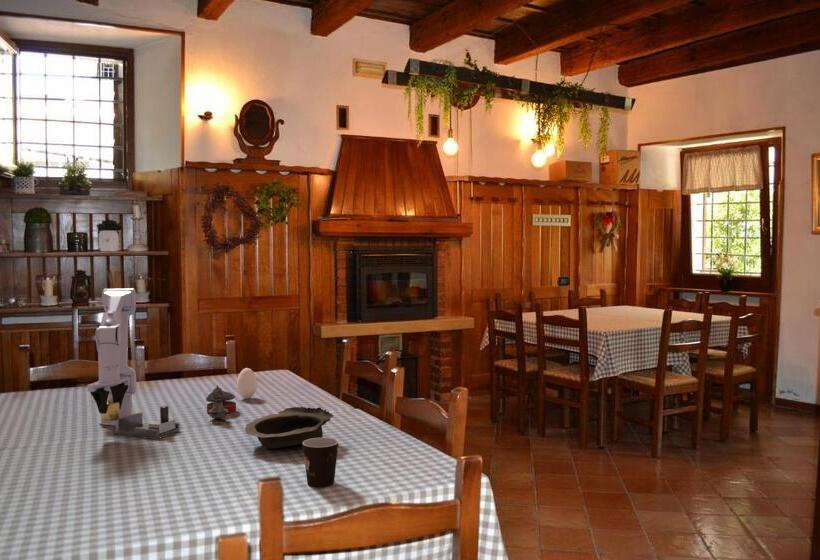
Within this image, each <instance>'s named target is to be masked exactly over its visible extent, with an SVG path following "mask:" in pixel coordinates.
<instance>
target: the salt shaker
mask: <svg viewBox="0 0 820 560" xmlns="http://www.w3.org/2000/svg"><path fill="white" fill-rule="evenodd" d="M222 391H223V389H222V388H221V387H219V385H218V384H217V385H216V387H215V388H214V389H213V391H212V392H213V399H212V400H213V408H212V409H211V410H209V412H210V415H209V416H210V417H211V418H212V419H210V420H209V423H211V422H212V424H221V423H220V422H222V423H225V422H226V421H227V419H226V418H224V417H225V416H226V415H225V414H226V411H227V409H224V408H223V405H222V400H223V398H222Z"/></svg>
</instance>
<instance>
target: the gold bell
mask: <svg viewBox="0 0 820 560" xmlns="http://www.w3.org/2000/svg"><path fill="white" fill-rule="evenodd" d="M119 419H120V417H119V402H118V401H112V399H108V401H107V411H106V413H105V414H102V413H100V422H101V421H115V420H119Z"/></svg>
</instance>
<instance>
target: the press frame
mask: <svg viewBox="0 0 820 560" xmlns="http://www.w3.org/2000/svg"><path fill="white" fill-rule="evenodd" d="M115 421H116V426H115V430H113V431H114V434H115V435H120V434H121V435H120V436H128V435H130V436H129V437H136V436H138V438H144V437H147V438H146V439H152V438H154V439H153V440H158V438H159V439H161V438H164V437H166V435H167V436H170V435H172V433H173V434H175V432H176V433H178V431H179V432H180V431H181V430H180V427H181V426H180V422H176V421H175V429H172V430H169V431H166V432H163V433H160V434H159V430H155V429H149V423H144V422H143V412H137V413H132V415H129V416H126V417H122V418H120V419H119V420H115ZM169 434H170V435H169ZM163 436H164V437H163ZM160 437H161V438H160Z"/></svg>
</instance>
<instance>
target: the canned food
mask: <svg viewBox="0 0 820 560" xmlns="http://www.w3.org/2000/svg"><path fill="white" fill-rule="evenodd" d="M222 398H223V400H222V405H223V408H224V409H227V411H226V414H225V416H228V415H227V414H229V415H233V414H235V413H236V412H237V402H235V401H232V400H234V399H235V398H236V396H235V395H234V393H231V392H228V391H224V390H222ZM212 399H213V391H212V392H210V393H209V394H208V396H207V397H206V398H205V401H206V402H209V403H207V404H206V414H207V415H209V414H210V412H209V410H211V409H212V408H213V400H212ZM232 413H233V414H232Z"/></svg>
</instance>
